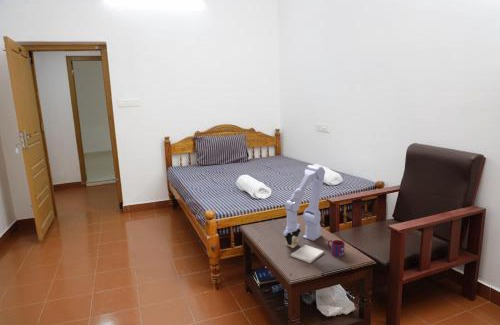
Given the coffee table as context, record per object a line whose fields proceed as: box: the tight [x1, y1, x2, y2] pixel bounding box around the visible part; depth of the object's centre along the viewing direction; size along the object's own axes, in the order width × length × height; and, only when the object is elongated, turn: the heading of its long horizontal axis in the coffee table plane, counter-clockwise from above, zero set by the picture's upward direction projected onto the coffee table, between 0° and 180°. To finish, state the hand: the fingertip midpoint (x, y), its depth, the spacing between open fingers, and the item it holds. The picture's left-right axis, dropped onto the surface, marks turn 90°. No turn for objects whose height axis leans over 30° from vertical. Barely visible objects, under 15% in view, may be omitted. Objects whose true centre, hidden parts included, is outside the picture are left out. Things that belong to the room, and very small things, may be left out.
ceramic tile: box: [290, 244, 325, 264], centre depth 184 cm, size 14×12×1 cm
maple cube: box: [285, 235, 299, 249], centre depth 195 cm, size 5×5×5 cm
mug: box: [327, 239, 346, 258], centre depth 184 cm, size 7×10×7 cm
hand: (292, 242), depth 195 cm, fingers closed on maple cube, 5 cm apart
